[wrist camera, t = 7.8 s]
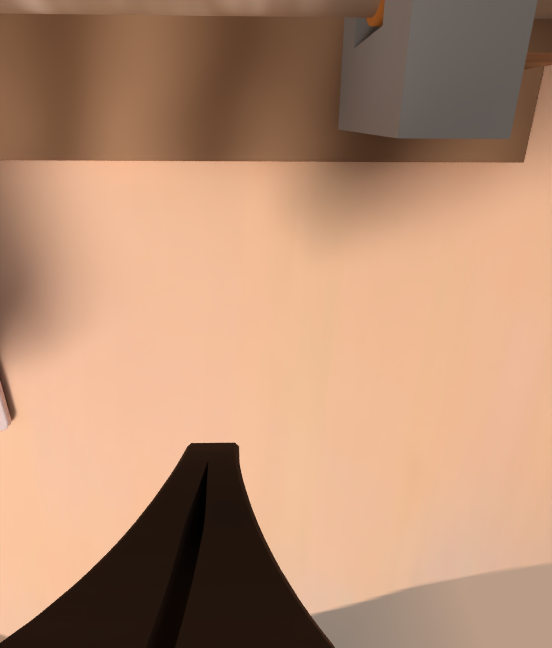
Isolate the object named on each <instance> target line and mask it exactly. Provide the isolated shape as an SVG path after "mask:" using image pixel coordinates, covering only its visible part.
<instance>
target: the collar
mask: <svg viewBox="0 0 552 648" xmlns="http://www.w3.org/2000/svg"><path fill="white" fill-rule="evenodd" d="M537 1H538V0H385V4H384V16H383V26H382V27H371V26H369V25H368V22H367V19H366V18H345V19H344V36H343V54H342V71H341V89H340V106H339V124H338V130H344V131H351V132H358V133H365V134H372V135H378V136H385V137H392V138H425V139H510V136H511V131H512V126H513V121H514V116H515V111H516V106H517V101H518V96H519V91H520V86H521V81H522V76H523V71H524V66H525V61H526V56H527V51H528V46H529V41H530V36H531V31H532V26H533V21H534V16H535V11H536V6H537Z"/></svg>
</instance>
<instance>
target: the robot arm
mask: <svg viewBox="0 0 552 648" xmlns="http://www.w3.org/2000/svg"><path fill="white" fill-rule="evenodd" d="M10 424H11V417H10V414H9V410H8V407H7V403H6V400H5V396H4V392H3V389H2V385H1V382H0V431H3V430H6V429H7V428H8V427H9V426H10ZM0 648H335V647H334V646H333V644H332V643H331V642H330V640H329V639H328V638H327V637H326V635H325V634H324V633H323V632H322V630H321V629H320V628H319V627H318V625H317V624H316V622H315V621H314V620H313V619H312V617H311V616H310V614H309V613H308V611H307V610H306V608H305V607H304V606H303V604H302V603H301V601H300V600H299V598H298V597H297V595H296V594H295V592H294V590H293V589H292V587H291V585H290V584H289V582H288V581H287V579H286V577H285V576H284V574H283V573H282V571H281V569H280V567H279V566H278V564H277V562H276V560H275V558H274V556H273V554H272V553H271V551H270V549H269V547H268V544H267V542H266V540H265V538H264V536H263V534H262V532H261V529H260V527H259V525H258V522H257V520H256V517H255V515H254V512H253V510H252V507H251V504H250V502H249V498H248V495H247V492H246V489H245V486H244V482H243V478H242V474H241V469H240V463H239V446H238V445H237V444H236V443H191V444H190V445H189V446H188V447H187V448H186V450H185V452H184V454H183V456H182V457H181V459H180V461H179V462H178V464H177V466H176V467H175V469H174V470H173V472H172V473H171V475H170V476H169V478H168V479H167V481H166V482H165V484H164V485H163V486H162V488H161V489H160V491H159V492H158V494H157V495H156V496H155V498H154V499H153V500H152V502H151V503H150V504H149V506H148V507H147V508H146V509H145V511H144V512H143V513H142V514H141V516H140V517H139V518H138V519H137V521H136V522H135V523H134V524H133V526H132V527H131V528H130V529H129V530H128V531H127V533H126V534H125V535H124V536H123V537H122V538H121V539H120V540H119V541H118V543H117V544H116V545H115V546H114V547H113V548H112V549H111V550H110V551H109V552H108V553H107V554H106V555H105V556H104V557H103V558H102V559H101V560H100V561H99V562H98V563H97V564H96V565H95V566H94V567H93V568H92V569H91V570H90V571H89V572H88V573H87V574H86V575H85V576H84V577H82V578H81V579H80V580H79V581H78V582H77V583H76V584H75V585H74V586H73V587H71V588H70V589H69V590H68V591H67V592H65V593H64V594H63V595H62V596H61V597H59V598H58V599H57V600H56V601H55V602H53V603H52V604H51V605H50V606H49V607H47V608H46V609H45V610H44V611H43V612H41V613H40V614H39V615H38V616H36V617H35V618H34V619H33V620H31V621H30V622H29V623H27V624H26V625H24V626H23V627H22V628H20V629H19V630H17V631H16V632H15V633H13V634H12V635H11V636H9V637H8V638H6V639H5V640H4V641H2V642H1V643H0Z"/></svg>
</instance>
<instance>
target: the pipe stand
mask: <svg viewBox="0 0 552 648" xmlns="http://www.w3.org/2000/svg"><path fill="white" fill-rule="evenodd" d="M384 4H385V0H0V160H95V161H317V162H524V159H525V154H526V149H527V145H528V140H529V135H530V131H531V126H532V122H533V117H534V112H535V108H536V103H537V98H538V94H539V89H540V85H541V80H542V75H543V71H544V66H547V65H552V0H538V1H537V6H536V11H535V16H534V21H533V26H532V31H531V36H530V41H529V46H528V51H527V56H526V61H525V66H524V71H523V76H522V81H521V86H520V91H519V96H518V101H517V106H516V111H515V116H514V121H513V126H512V131H511V136H510V139H425V138H392V137H385V136H378V135H372V134H365V133H358V132H351V131H344V130H338V124H339V106H340V89H341V71H342V54H343V36H344V19H345V18H366V19H367V22H368V25H369V26H371V27H382V26H383V16H384Z"/></svg>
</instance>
